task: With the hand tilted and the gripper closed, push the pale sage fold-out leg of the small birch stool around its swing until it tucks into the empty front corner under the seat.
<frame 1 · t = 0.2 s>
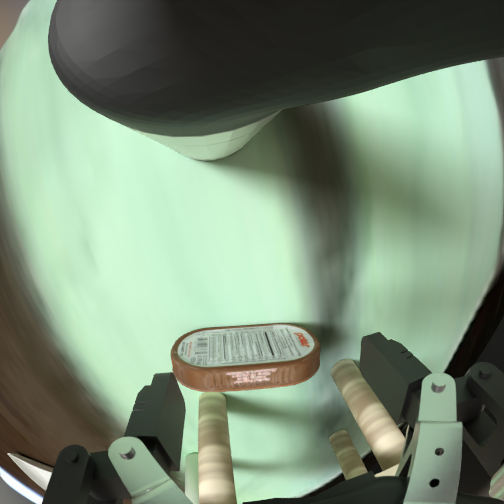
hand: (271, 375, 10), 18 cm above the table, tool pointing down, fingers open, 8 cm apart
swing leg: (211, 490, 27), point 9 cm above the table, hinge at -45.0°
stool: (285, 423, 36), on the table
tin: (242, 331, 30), on the table
square plate: (65, 481, 40), on the table
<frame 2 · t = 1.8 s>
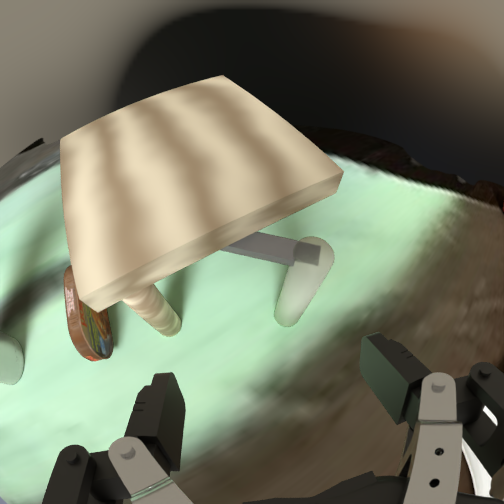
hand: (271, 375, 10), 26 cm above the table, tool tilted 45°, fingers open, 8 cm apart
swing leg: (255, 282, 31), point 9 cm above the table, hinge at -45.0°
stool: (197, 249, 43), on the table
tin: (100, 318, 37), on the table
square plate: (502, 434, 24), on the table
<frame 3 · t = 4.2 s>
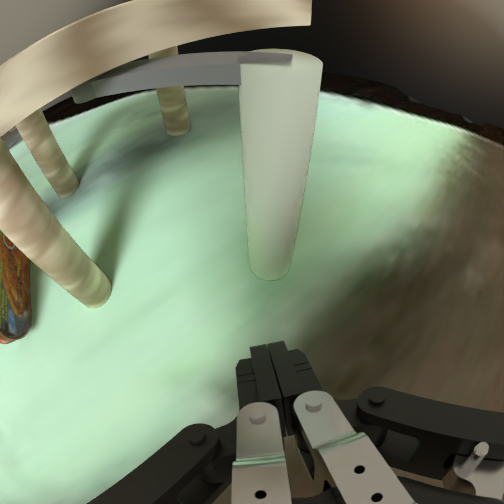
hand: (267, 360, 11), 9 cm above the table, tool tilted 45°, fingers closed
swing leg: (199, 185, 17), point 9 cm above the table, hinge at -45.0°
stool: (141, 191, 29), on the table
tin: (23, 293, 23), on the table
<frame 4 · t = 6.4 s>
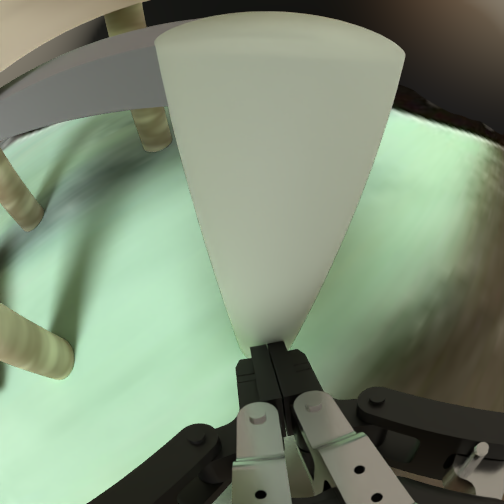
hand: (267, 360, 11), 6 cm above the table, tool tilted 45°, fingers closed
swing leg: (151, 265, 11), point 9 cm above the table, hinge at -44.3°, touching gripper
stool: (108, 228, 23), on the table
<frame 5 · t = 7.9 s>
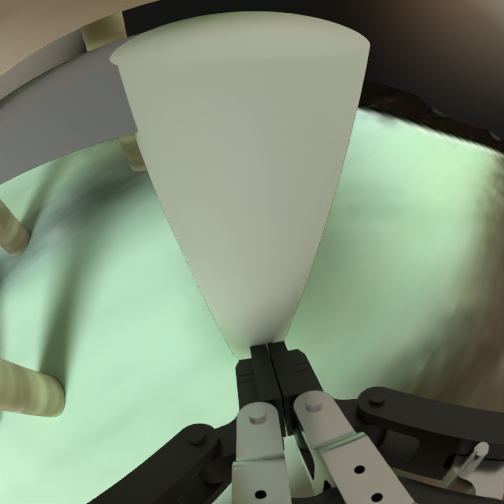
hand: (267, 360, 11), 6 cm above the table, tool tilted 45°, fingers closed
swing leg: (131, 304, 10), point 9 cm above the table, hinge at -25.2°, touching gripper
stool: (92, 260, 21), on the table
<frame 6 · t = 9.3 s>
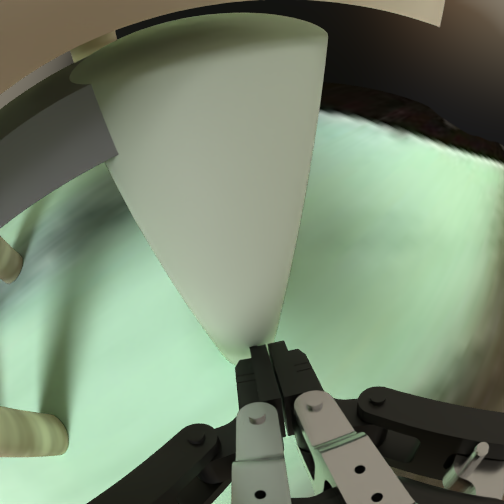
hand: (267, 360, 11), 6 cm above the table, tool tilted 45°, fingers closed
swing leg: (123, 344, 9), point 9 cm above the table, hinge at -5.3°, touching gripper
stool: (88, 295, 19), on the table
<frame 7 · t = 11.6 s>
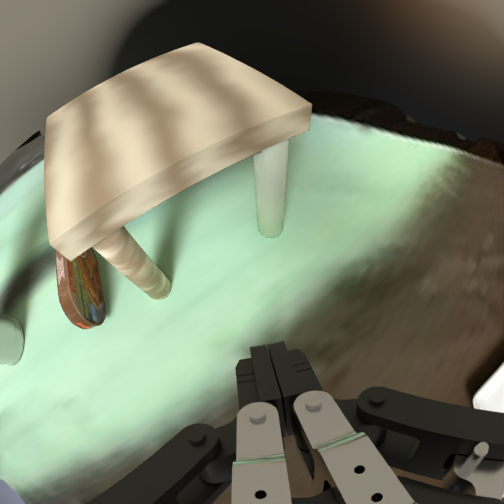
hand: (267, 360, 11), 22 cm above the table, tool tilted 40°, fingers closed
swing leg: (234, 205, 31), point 9 cm above the table, hinge at -5.3°
stool: (186, 212, 42), on the table
tin: (94, 289, 37), on the table
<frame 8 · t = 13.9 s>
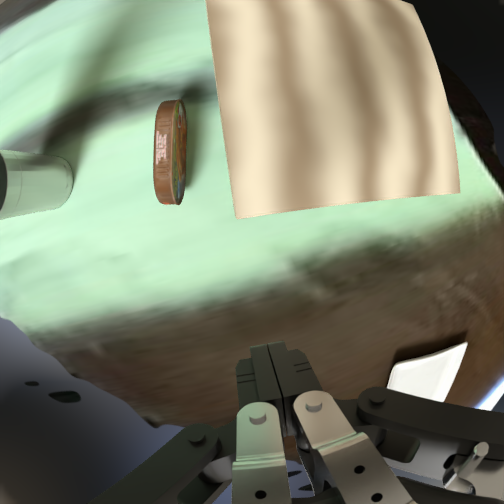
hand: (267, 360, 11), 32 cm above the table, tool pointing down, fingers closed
stool: (295, 120, 39), on the table
tin: (176, 155, 39), on the table
square plate: (413, 387, 57), on the table
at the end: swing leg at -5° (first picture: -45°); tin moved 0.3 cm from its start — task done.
